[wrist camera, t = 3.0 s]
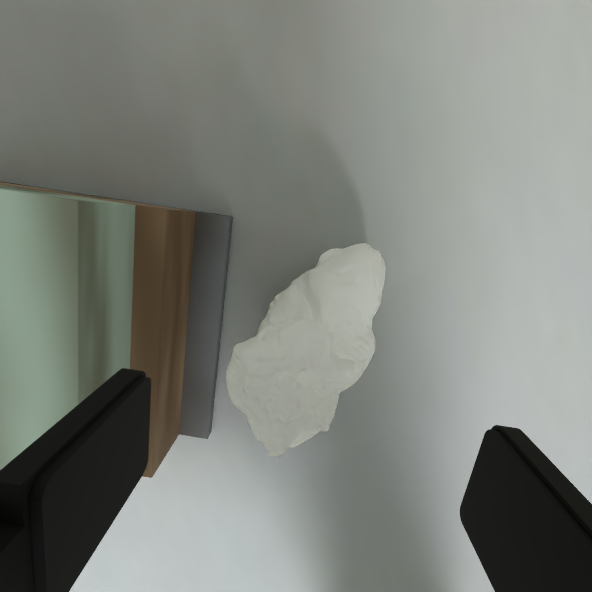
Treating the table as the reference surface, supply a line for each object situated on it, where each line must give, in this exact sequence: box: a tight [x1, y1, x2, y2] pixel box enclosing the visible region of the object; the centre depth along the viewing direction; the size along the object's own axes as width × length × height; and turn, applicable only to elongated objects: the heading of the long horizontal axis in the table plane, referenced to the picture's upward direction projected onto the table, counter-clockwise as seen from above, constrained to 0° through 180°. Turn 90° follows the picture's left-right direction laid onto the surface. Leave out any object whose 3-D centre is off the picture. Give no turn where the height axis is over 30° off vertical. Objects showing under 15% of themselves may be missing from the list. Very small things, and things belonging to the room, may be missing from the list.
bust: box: [226, 243, 386, 457], centre depth 17 cm, size 12×8×11 cm
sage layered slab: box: [0, 182, 232, 478], centre depth 18 cm, size 18×15×9 cm
